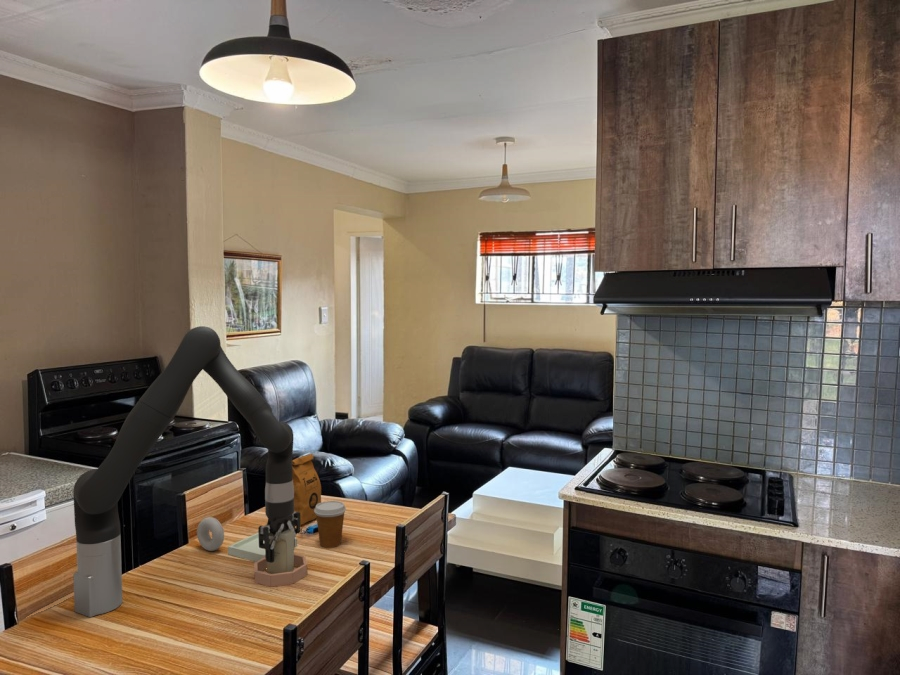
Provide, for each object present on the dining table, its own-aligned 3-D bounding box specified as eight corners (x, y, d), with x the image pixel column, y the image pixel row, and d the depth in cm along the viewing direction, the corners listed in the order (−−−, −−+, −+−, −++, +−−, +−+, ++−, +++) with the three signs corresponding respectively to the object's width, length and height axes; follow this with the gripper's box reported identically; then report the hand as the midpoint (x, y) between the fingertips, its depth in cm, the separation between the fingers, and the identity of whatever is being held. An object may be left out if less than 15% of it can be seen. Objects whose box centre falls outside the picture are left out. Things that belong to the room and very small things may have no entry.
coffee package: (326, 517, 207) (325, 454, 206) (301, 528, 197) (300, 462, 195) (304, 512, 212) (303, 451, 211) (278, 523, 201) (277, 458, 200)
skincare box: (266, 576, 162) (265, 532, 161) (275, 569, 166) (274, 526, 166) (286, 579, 160) (285, 534, 160) (295, 572, 165) (294, 529, 164)
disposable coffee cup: (342, 550, 179) (342, 510, 179) (311, 549, 180) (310, 510, 179) (348, 537, 189) (348, 500, 188) (318, 537, 189) (318, 500, 188)
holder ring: (282, 590, 154) (282, 578, 154) (243, 579, 160) (243, 568, 160) (316, 569, 166) (316, 558, 166) (279, 560, 172) (279, 549, 172)
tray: (263, 563, 170) (263, 555, 170) (227, 554, 176) (227, 546, 176) (297, 545, 182) (297, 538, 182) (262, 537, 189) (262, 530, 189)
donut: (227, 551, 178) (226, 518, 178) (217, 555, 175) (216, 522, 175) (204, 545, 183) (203, 512, 183) (194, 549, 180) (193, 516, 180)
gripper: (271, 507, 154) (272, 569, 155) (308, 491, 167) (308, 549, 168) (249, 502, 157) (250, 564, 158) (287, 487, 170) (288, 544, 171)
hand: (280, 556), depth 163 cm, fingers open, 7 cm apart
